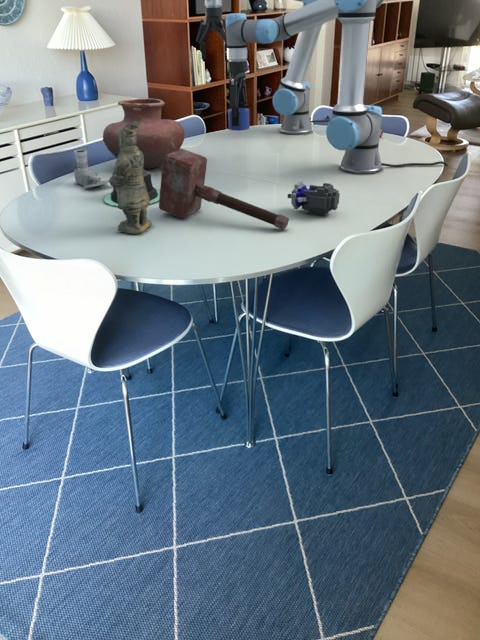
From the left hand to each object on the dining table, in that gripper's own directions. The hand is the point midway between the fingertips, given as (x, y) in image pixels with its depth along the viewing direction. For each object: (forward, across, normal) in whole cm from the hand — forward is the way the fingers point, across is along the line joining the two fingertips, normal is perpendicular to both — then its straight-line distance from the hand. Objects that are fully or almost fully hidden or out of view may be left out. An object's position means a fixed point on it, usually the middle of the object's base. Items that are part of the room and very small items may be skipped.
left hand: (215, 59), depth 256 cm
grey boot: (+33, +15, -94) cm, 101 cm away
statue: (+33, +59, -117) cm, 135 cm away
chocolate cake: (+33, +38, -96) cm, 108 cm away
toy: (+33, +96, -77) cm, 127 cm away
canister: (+20, +40, -37) cm, 58 cm away
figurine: (+33, +70, +17) cm, 79 cm away
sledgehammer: (+33, +77, -97) cm, 128 cm away
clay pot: (+33, +15, -65) cm, 74 cm away
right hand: (+18, +40, -37) cm, 57 cm away
